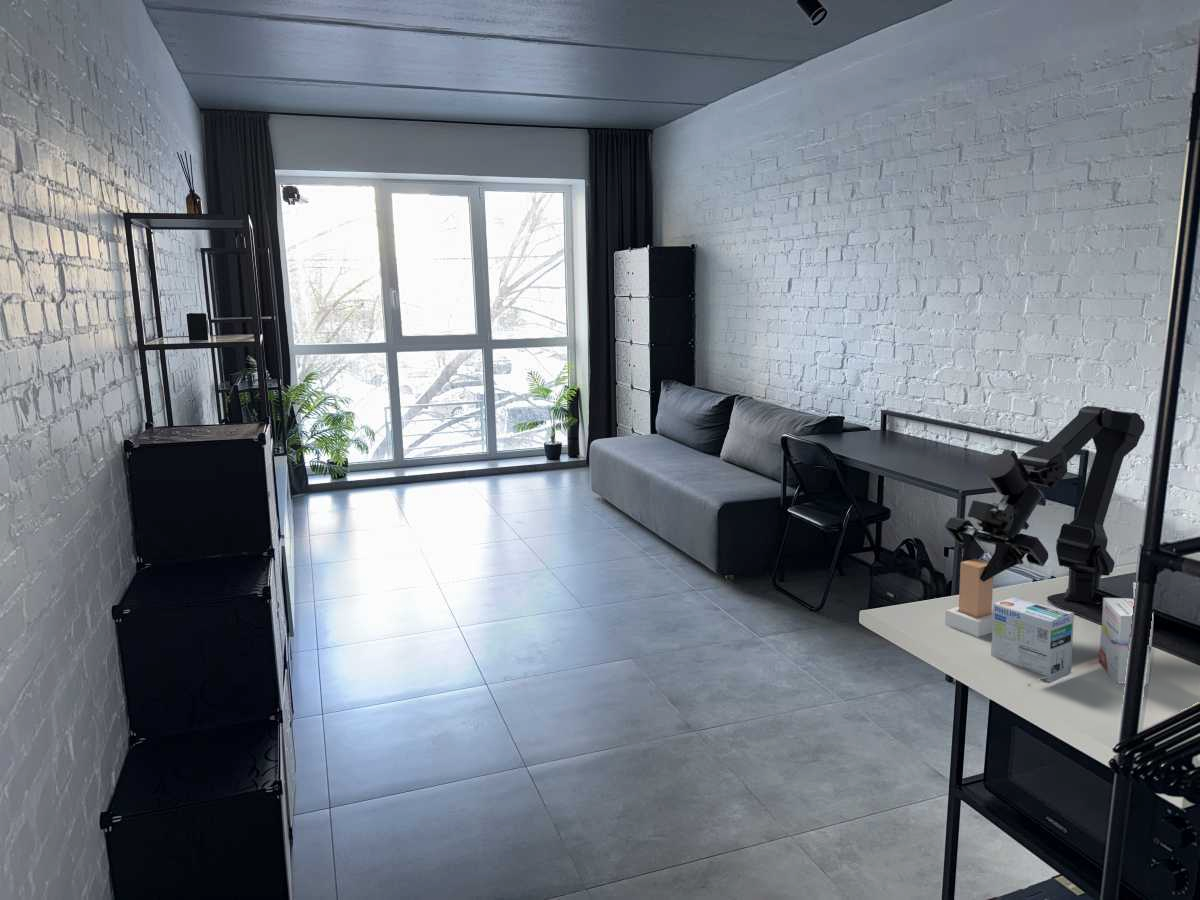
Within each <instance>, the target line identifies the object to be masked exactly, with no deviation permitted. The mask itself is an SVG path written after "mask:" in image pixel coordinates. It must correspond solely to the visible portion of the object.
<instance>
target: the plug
mask: <svg viewBox="0 0 1200 900" xmlns="http://www.w3.org/2000/svg"><path fill="white" fill-rule="evenodd" d="M988 562H989V561H985V560H981V559H971V560H967V561H964V562H962V561H960V567H959V568H960V569H959V575H960V576H959V589H958V591H959V593H958V595H959V596H958V606H959V612H960V613H963V614H966V615H968V616H971V617H974V618H977V619H978V618H981V617H985V616H988V615H991V613H992V610H993V607H992V606H993V594H994V593H993V591H994V590H993V586H994V576H993V577H992V578H990V579H988V580H986V581H985V582H983V581H981V579H980V577H981V575H982V572H983V571H984V569H985V567H986V566H987V564H988Z"/></svg>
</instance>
